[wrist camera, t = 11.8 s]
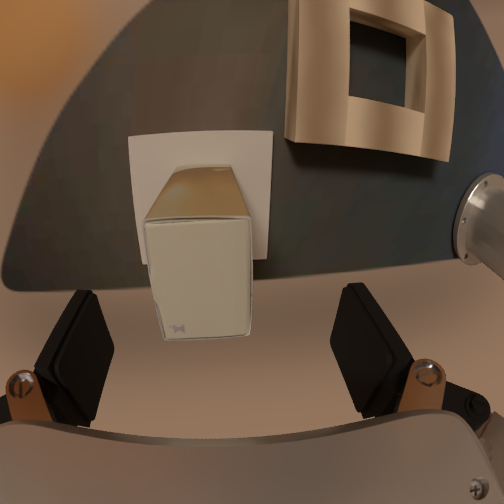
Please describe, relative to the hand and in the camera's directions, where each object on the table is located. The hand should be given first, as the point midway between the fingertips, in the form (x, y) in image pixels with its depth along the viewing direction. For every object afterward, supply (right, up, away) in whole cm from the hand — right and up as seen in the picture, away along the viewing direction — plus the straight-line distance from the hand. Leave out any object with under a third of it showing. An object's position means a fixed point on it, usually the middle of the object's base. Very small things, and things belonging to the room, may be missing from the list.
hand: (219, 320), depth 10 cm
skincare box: (-3, +7, +12) cm, 14 cm away
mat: (-3, +7, +12) cm, 14 cm away
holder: (+11, +18, +9) cm, 23 cm away
